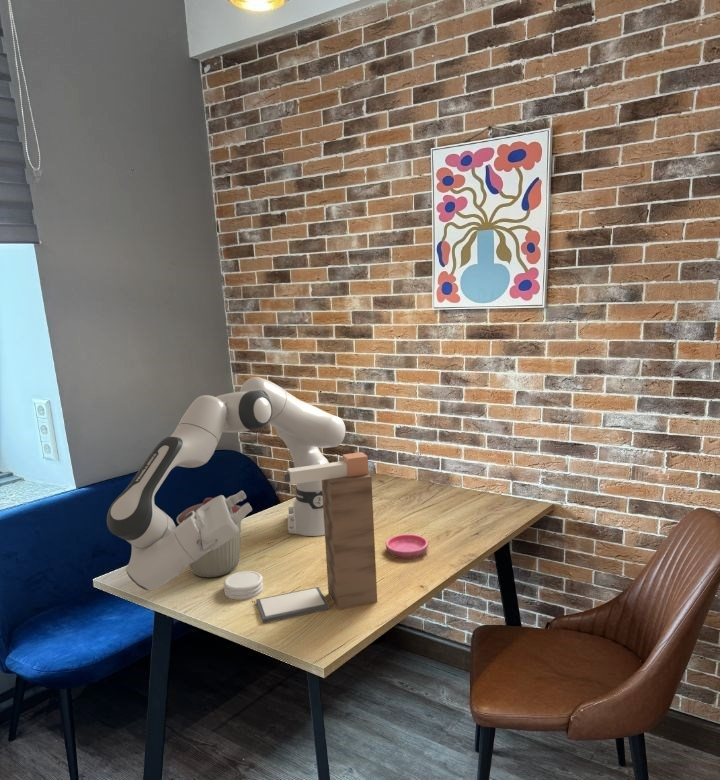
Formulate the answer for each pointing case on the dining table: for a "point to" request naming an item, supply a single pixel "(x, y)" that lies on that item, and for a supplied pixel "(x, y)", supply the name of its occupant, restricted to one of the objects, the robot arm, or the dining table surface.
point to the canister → (216, 551)
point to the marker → (329, 469)
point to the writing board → (291, 604)
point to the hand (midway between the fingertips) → (247, 499)
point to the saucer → (407, 545)
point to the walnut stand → (350, 540)
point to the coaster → (243, 585)
